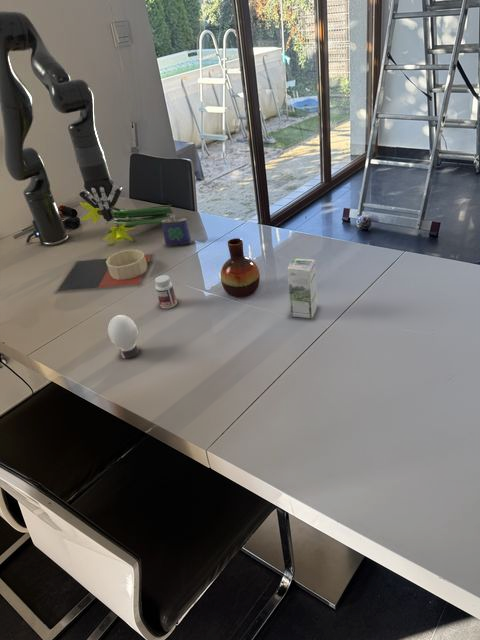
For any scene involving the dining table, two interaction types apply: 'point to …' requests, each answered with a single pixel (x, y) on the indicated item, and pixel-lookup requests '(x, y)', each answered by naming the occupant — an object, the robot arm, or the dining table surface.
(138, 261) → the bowl
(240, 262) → the vase
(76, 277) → the placemat
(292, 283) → the syrup box
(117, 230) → the daffodil flowers
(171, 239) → the flask
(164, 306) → the pill bottle
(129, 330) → the light bulb
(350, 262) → the dining table surface
